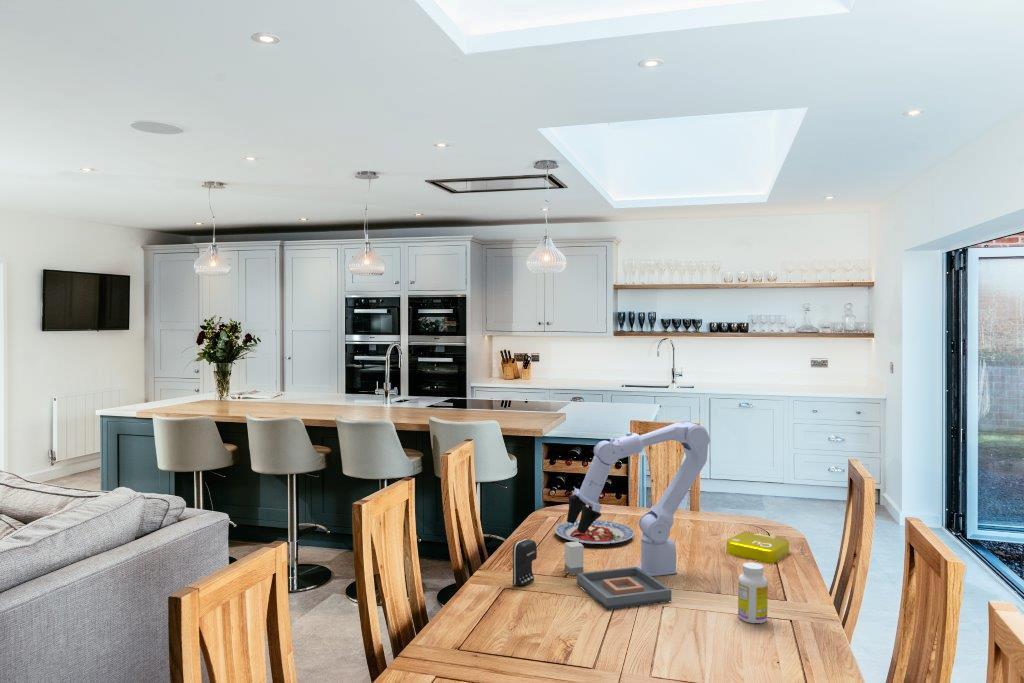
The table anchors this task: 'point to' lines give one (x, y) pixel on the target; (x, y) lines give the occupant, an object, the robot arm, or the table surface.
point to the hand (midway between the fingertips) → (575, 527)
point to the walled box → (623, 588)
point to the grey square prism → (574, 557)
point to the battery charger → (523, 561)
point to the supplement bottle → (752, 594)
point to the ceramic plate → (595, 532)
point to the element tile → (758, 547)
